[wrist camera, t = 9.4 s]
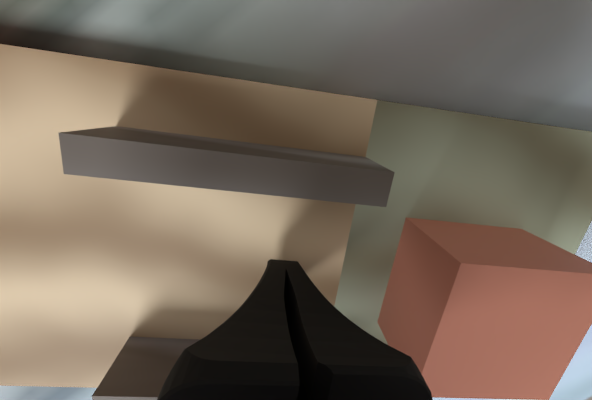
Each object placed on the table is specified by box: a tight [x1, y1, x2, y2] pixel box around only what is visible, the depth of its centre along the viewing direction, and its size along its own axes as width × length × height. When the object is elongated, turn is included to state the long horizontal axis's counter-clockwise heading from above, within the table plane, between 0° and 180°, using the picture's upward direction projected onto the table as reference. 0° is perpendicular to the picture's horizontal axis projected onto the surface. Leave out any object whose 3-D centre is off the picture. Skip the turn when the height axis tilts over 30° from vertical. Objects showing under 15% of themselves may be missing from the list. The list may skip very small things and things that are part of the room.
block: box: [377, 217, 592, 400], centre depth 12 cm, size 6×6×4 cm
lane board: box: [0, 44, 592, 400], centre depth 12 cm, size 16×30×4 cm, turn 82°
